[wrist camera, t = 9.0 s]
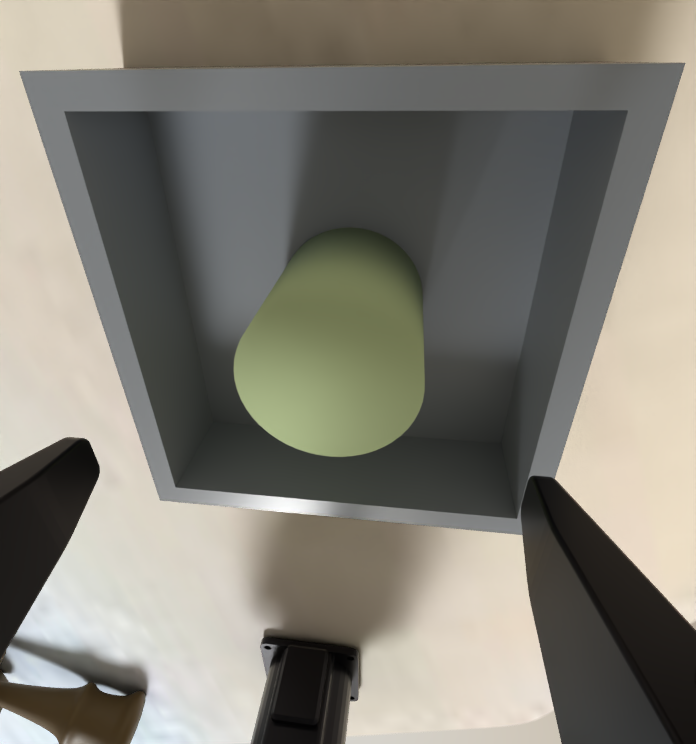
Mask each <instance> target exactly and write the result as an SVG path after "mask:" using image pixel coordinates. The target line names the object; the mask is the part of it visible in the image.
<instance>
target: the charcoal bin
mask: <svg viewBox="0 0 696 744" xmlns="http://www.w3.org/2000/svg"><path fill="white" fill-rule="evenodd" d="M684 66H685V63H649V62H572V63H494V64H415V65H337V66H258V67H180V68H113V69H77V70H42V71H19V72H20V75H21V78H22V81H23V84H24V87H25V90H26V93H27V96H28V99H29V102H30V106H31V109H32V112H33V115H34V118H35V121H36V124H37V127H38V130H39V133H40V136H41V139H42V142H43V145H44V148H45V151H46V154H47V157H48V160H49V163H50V166H51V169H52V173H53V176H54V179H55V182H56V185H57V188H58V191H59V194H60V197H61V200H62V203H63V206H64V209H65V212H66V215H67V218H68V221H69V224H70V227H71V230H72V233H73V236H74V240H75V243H76V246H77V249H78V252H79V255H80V258H81V261H82V264H83V267H84V270H85V273H86V276H87V279H88V282H89V285H90V288H91V291H92V294H93V297H94V300H95V303H96V307H97V310H98V313H99V316H100V319H101V322H102V325H103V328H104V331H105V334H106V337H107V340H108V343H109V346H110V349H111V352H112V355H113V358H114V361H115V364H116V367H117V370H118V374H119V377H120V380H121V383H122V386H123V389H124V392H125V395H126V398H127V401H128V404H129V407H130V410H131V413H132V416H133V419H134V422H135V425H136V428H137V431H138V434H139V437H140V441H141V444H142V447H143V450H144V453H145V456H146V459H147V462H148V465H149V468H150V471H151V474H152V477H153V480H154V483H155V486H156V489H157V492H158V495H159V498H160V500H162V501H173V502H183V503H193V504H204V505H214V506H225V507H235V508H246V509H256V510H267V511H277V512H288V513H298V514H309V515H319V516H330V517H340V518H351V519H361V520H371V521H382V522H392V523H403V524H413V525H424V526H434V527H445V528H455V529H466V530H476V531H487V532H497V533H508V534H518V535H523V534H522V524H521V504H522V500H523V497H524V493H525V490H526V486H527V482H528V480H529V478H530V477H531V476H534V475H535V476H547V477H552V478H554V479H555V476H556V472H557V469H558V466H559V463H560V460H561V457H562V453H563V450H564V447H565V444H566V441H567V437H568V434H569V431H570V428H571V425H572V422H573V418H574V415H575V412H576V409H577V406H578V403H579V399H580V396H581V393H582V390H583V387H584V383H585V380H586V377H587V374H588V371H589V368H590V364H591V361H592V358H593V355H594V352H595V348H596V345H597V342H598V339H599V336H600V333H601V329H602V326H603V323H604V320H605V317H606V314H607V310H608V307H609V304H610V301H611V298H612V294H613V291H614V288H615V285H616V282H617V279H618V275H619V272H620V269H621V266H622V263H623V259H624V256H625V253H626V250H627V247H628V244H629V240H630V237H631V234H632V231H633V228H634V225H635V221H636V218H637V215H638V212H639V209H640V205H641V202H642V199H643V196H644V193H645V190H646V186H647V183H648V180H649V177H650V174H651V170H652V167H653V164H654V161H655V158H656V155H657V151H658V148H659V145H660V142H661V139H662V135H663V132H664V129H665V126H666V123H667V120H668V116H669V113H670V110H671V107H672V104H673V101H674V97H675V94H676V91H677V88H678V85H679V81H680V78H681V75H682V72H683V69H684ZM349 227H352V228H362V229H366V230H371V231H374V232H376V233H379V234H381V235H383V236H385V237H387V238H389V239H390V240H392V241H393V242H395V243H396V244H397V245H398V246H400V247H401V248H402V249H403V250H404V251H405V252H406V254H407V255H408V256H409V257H410V259H411V260H412V262H413V263H414V265H415V267H416V269H417V271H418V273H419V276H420V280H421V284H422V291H423V329H424V374H425V391H424V397H423V402H422V405H421V408H420V411H419V413H418V415H417V416H416V418H415V420H414V422H413V423H412V424H411V426H410V427H409V428H408V429H407V430H406V431H405V432H404V433H403V434H402V435H401V436H400V437H399V438H397V439H396V440H395V441H393V442H392V443H390V444H388V445H386V446H385V447H382V448H380V449H378V450H375V451H373V452H369V453H366V454H362V455H356V456H347V457H330V456H322V455H316V454H312V453H308V452H305V451H302V450H299V449H296V448H294V447H291V446H289V445H287V444H285V443H283V442H282V441H280V440H278V439H276V438H275V437H274V436H272V435H271V434H269V433H268V432H267V431H266V430H264V429H263V428H262V427H261V426H260V425H259V424H258V423H257V422H256V421H255V420H254V419H253V418H252V416H251V415H250V413H249V412H248V411H247V409H246V408H245V406H244V404H243V402H242V401H241V398H240V396H239V393H238V391H237V388H236V384H235V379H234V358H235V353H236V349H237V346H238V344H239V341H240V339H241V337H242V336H243V334H244V332H245V331H246V329H247V328H248V326H249V324H250V323H251V321H252V320H253V318H254V317H255V315H256V313H257V312H258V310H259V309H260V307H261V306H262V304H263V302H264V301H265V299H266V298H267V296H268V295H269V293H270V291H271V290H272V288H273V287H274V285H275V284H276V282H277V280H278V279H279V277H280V276H281V274H282V273H283V271H284V269H285V268H286V266H287V265H288V263H289V262H290V260H291V258H292V257H293V255H294V254H295V253H296V252H297V250H298V249H299V248H300V247H301V246H302V245H303V244H304V243H306V242H307V241H308V240H310V239H311V238H313V237H314V236H316V235H318V234H320V233H323V232H326V231H329V230H332V229H338V228H349Z"/></svg>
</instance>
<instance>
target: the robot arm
mask: <svg viewBox="0 0 696 744" xmlns="http://www.w3.org/2000/svg"><path fill="white" fill-rule="evenodd" d="M99 473H100V468H99V464H98V461H97V459H96V457H95V454H94V452H93V449H92V447H91V444H90V442H89V441H88V440H87V439H84V438H74V437H67V438H64V439H62V440H60V441H58V442H56V443H54V444H52V445H50V446H48V447H46V448H44V449H42V450H40V451H38V452H37V453H35V454H33V455H31V456H29V457H27V458H25V459H23V460H21V461H19V462H17V463H15V464H13V465H12V466H10V467H8V468H6V469H4V470H2V471H0V660H1V658H2V656H3V654H4V653H5V651H6V649H7V648H8V646H9V644H10V642H11V641H12V639H13V637H14V636H15V634H16V632H17V630H18V629H19V627H20V625H21V624H22V622H23V620H24V618H25V617H26V615H27V613H28V612H29V610H30V608H31V606H32V605H33V603H34V601H35V600H36V598H37V596H38V594H39V593H40V591H41V589H42V588H43V586H44V584H45V582H46V581H47V579H48V577H49V576H50V574H51V572H52V570H53V569H54V567H55V565H56V564H57V562H58V560H59V558H60V557H61V555H62V553H63V551H64V550H65V548H66V546H67V544H68V542H69V540H70V538H71V536H72V534H73V532H74V530H75V528H76V526H77V524H78V521H79V519H80V517H81V515H82V513H83V510H84V508H85V506H86V504H87V502H88V499H89V497H90V495H91V493H92V491H93V489H94V486H95V484H96V482H97V480H98V477H99ZM521 524H522V534H523V543H524V553H525V563H526V573H527V582H528V590H529V597H530V602H531V607H532V612H533V616H534V621H535V625H536V630H537V634H538V639H539V643H540V648H541V652H542V657H543V661H544V666H545V670H546V675H547V679H548V684H549V688H550V693H551V697H552V702H553V706H554V711H555V715H556V720H557V724H558V729H559V733H560V738H561V742H562V744H696V630H695V629H694V628H693V627H692V626H691V624H690V623H689V622H688V621H687V620H686V619H685V618H684V617H683V616H682V615H681V614H680V613H679V612H678V611H677V609H676V608H675V607H674V606H673V605H672V604H671V603H670V602H669V601H668V600H667V599H666V598H665V597H664V595H663V594H662V593H661V592H660V591H659V590H658V589H657V588H656V587H655V586H654V585H653V584H652V583H651V582H650V580H649V579H648V578H647V577H646V576H645V575H644V574H643V573H642V572H641V571H640V570H639V569H638V568H637V566H636V565H635V564H634V563H633V562H632V561H631V560H630V559H629V558H628V557H627V556H626V555H625V554H624V553H623V551H622V550H621V549H620V548H619V547H618V546H617V545H616V544H615V543H614V542H613V541H612V540H611V539H610V537H609V536H608V535H607V534H606V533H605V532H604V531H603V530H602V529H601V528H600V527H599V526H598V525H597V524H596V522H595V521H594V520H593V519H592V518H591V517H590V516H589V515H588V514H587V513H586V512H585V511H584V510H583V508H582V507H581V506H580V505H579V504H578V503H577V502H576V501H575V500H574V499H573V498H572V497H571V496H570V495H569V493H568V492H567V491H566V490H565V489H564V488H563V487H562V486H561V485H560V484H559V483H558V482H557V481H556V480H555V479H554V478H552V477H547V476H535V475H534V476H531V477H530V478H529V480H528V482H527V486H526V490H525V493H524V497H523V500H522V504H521ZM260 648H261V652H262V657H263V662H264V666H265V671H266V676H267V680H266V684H265V688H264V692H263V696H262V700H261V704H260V708H259V712H258V716H257V720H256V724H255V728H254V732H253V736H252V740H251V744H345V740H346V731H347V722H348V713H349V704H350V701H357V700H358V695H359V652H358V651H357V650H356V649H353V648H347V647H339V646H331V645H323V644H315V643H307V642H299V641H291V640H283V639H275V638H263V639H262V642H261V646H260Z"/></svg>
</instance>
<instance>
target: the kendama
mask: <svg viewBox="0 0 696 744" xmlns="http://www.w3.org/2000/svg"><path fill="white" fill-rule="evenodd" d="M5 654H6V651H5V653H4V654H3V656H2V658H1V660H0V664H1V662H2V660H3V658H4V656H5ZM144 704H145V693H144V692H143V691H136V692H134V693H133V694H130V695H127V696H118V695H112V694H107V693H104V692H102V691H100V690H99V689H98V688H97V686H96V684H95V683H94V682H90V683H88V684H87V685H85V686H82V687H79V688H51V687H41V686H32V685H24V684H16V683H10V682H8V680H7V679H6V677H5V675H4V674H3V672H2V671H1V670H0V712H1V710H2V708H5V709H7V710H9V711H11V712H14V713H16V714H18V715H20V716H22V717H24V718H26V719H28V720H30V721H32V722H34V723H36V724H38V725H40V726H41V727H43V728H45V729H46V730H48V731H50V732H51V733H52V734H53V735H54V736H55V737H56V738H57V740H58V742H59V744H130V743H131V740H132V738H133V736H134V734H135V731H136V729H137V726H138V723H139V720H140V718H141V715H142V711H143V707H144Z"/></svg>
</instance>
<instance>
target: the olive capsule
mask: <svg viewBox="0 0 696 744" xmlns="http://www.w3.org/2000/svg"><path fill="white" fill-rule="evenodd" d="M234 379H235V384H236V388H237V391H238V393H239V396H240V398H241V401H242V402H243V404H244V406H245V408H246V409H247V411H248V412H249V413H250V415H251V416H252V418H253V419H254V420H255V421H256V422H257V423H258V424H259V425H260V426H261V427H262V428H263V429H264V430H266V431H267V432H268V433H269V434H271V435H272V436H274V437H275V438H276V439H278V440H280V441H282V442H283V443H285V444H287V445H289V446H291V447H294V448H296V449H299V450H302V451H305V452H308V453H312V454H316V455H322V456H330V457H347V456H356V455H362V454H366V453H369V452H373V451H375V450H378V449H380V448H382V447H385V446H386V445H388V444H390V443H392V442H393V441H395V440H396V439H397V438H399V437H400V436H401V435H402V434H403V433H404V432H405V431H406V430H407V429H408V428H409V427H410V426H411V424H412V423H413V422H414V420H415V418H416V416H417V415H418V413H419V411H420V408H421V405H422V402H423V397H424V391H425V374H424V329H423V291H422V284H421V280H420V276H419V273H418V271H417V269H416V267H415V265H414V263H413V262H412V260H411V259H410V257H409V256H408V255H407V254H406V252H405V251H404V250H403V249H402V248H401V247H400V246H398V245H397V244H396V243H395V242H393V241H392V240H390V239H389V238H387V237H385V236H383V235H381V234H379V233H376V232H374V231H371V230H366V229H362V228H352V227H349V228H338V229H332V230H329V231H326V232H323V233H320V234H318V235H316V236H314V237H313V238H311V239H310V240H308V241H307V242H306V243H304V244H303V245H302V246H301V247H300V248H299V249H298V250H297V252H296V253H295V254H294V255H293V257H292V258H291V260H290V262H289V263H288V265H287V266H286V268H285V269H284V271H283V273H282V274H281V276H280V277H279V279H278V280H277V282H276V284H275V285H274V287H273V288H272V290H271V291H270V293H269V295H268V296H267V298H266V299H265V301H264V302H263V304H262V306H261V307H260V309H259V310H258V312H257V313H256V315H255V317H254V318H253V320H252V321H251V323H250V324H249V326H248V328H247V329H246V331H245V332H244V334H243V336H242V337H241V339H240V341H239V344H238V346H237V349H236V353H235V358H234Z"/></svg>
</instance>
